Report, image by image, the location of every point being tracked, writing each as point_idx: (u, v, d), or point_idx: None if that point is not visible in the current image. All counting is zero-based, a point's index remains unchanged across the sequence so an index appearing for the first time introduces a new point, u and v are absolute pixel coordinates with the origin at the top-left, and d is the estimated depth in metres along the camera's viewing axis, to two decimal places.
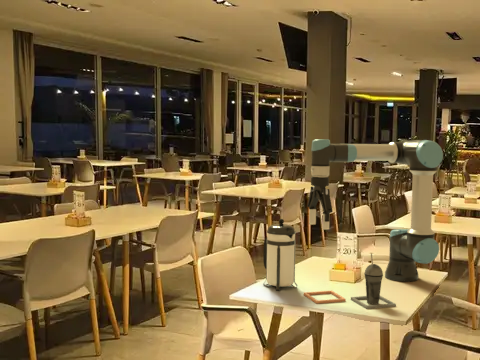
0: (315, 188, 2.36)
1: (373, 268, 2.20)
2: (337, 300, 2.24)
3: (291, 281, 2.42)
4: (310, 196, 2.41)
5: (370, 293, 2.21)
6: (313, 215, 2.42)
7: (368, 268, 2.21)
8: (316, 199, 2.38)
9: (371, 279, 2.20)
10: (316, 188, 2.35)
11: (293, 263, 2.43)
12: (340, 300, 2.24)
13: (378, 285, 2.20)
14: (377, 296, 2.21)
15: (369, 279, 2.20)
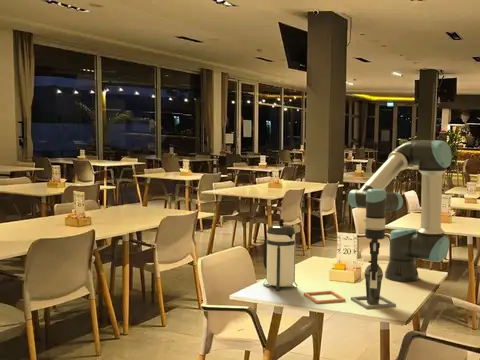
0: None
1: None
2: (337, 300, 2.24)
3: (291, 281, 2.42)
4: None
5: (370, 293, 2.21)
6: None
7: (368, 268, 2.21)
8: None
9: None
10: None
11: (293, 263, 2.43)
12: (340, 300, 2.24)
13: (378, 285, 2.20)
14: (377, 296, 2.21)
15: (369, 279, 2.20)
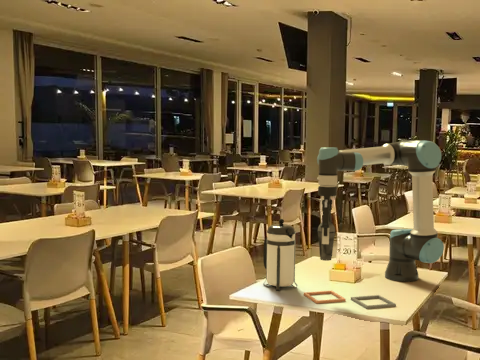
0: None
1: None
2: (337, 300, 2.24)
3: (291, 281, 2.42)
4: None
5: (323, 250, 2.26)
6: None
7: (321, 225, 2.26)
8: None
9: None
10: None
11: (293, 263, 2.43)
12: (340, 300, 2.24)
13: (330, 241, 2.25)
14: (329, 252, 2.26)
15: (321, 235, 2.25)
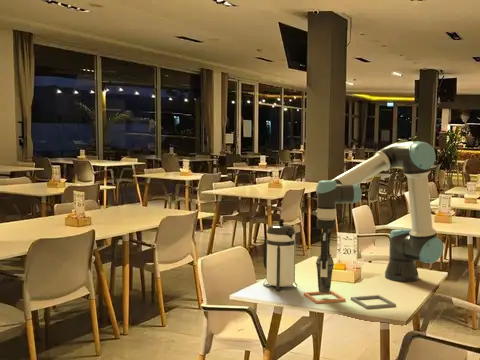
0: None
1: None
2: (337, 300, 2.24)
3: (291, 281, 2.42)
4: None
5: (321, 282, 2.27)
6: None
7: (319, 257, 2.27)
8: None
9: None
10: None
11: (293, 263, 2.43)
12: (340, 300, 2.24)
13: (329, 274, 2.26)
14: (328, 285, 2.27)
15: (319, 268, 2.26)
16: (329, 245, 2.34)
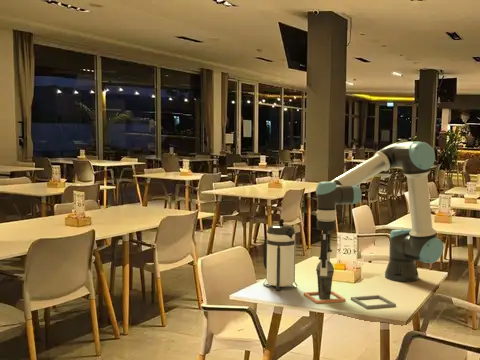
0: None
1: None
2: (337, 300, 2.24)
3: (291, 281, 2.42)
4: None
5: (321, 289, 2.27)
6: (327, 258, 2.35)
7: (319, 264, 2.27)
8: None
9: None
10: None
11: (293, 263, 2.43)
12: (340, 300, 2.24)
13: (329, 280, 2.27)
14: (328, 291, 2.27)
15: None
16: None
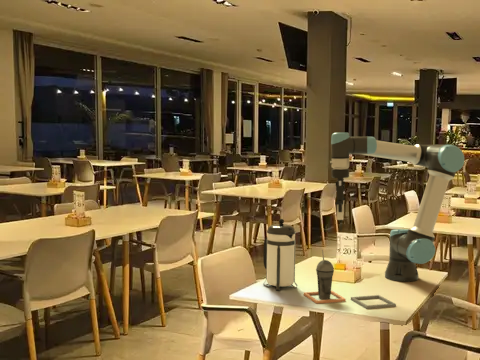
0: None
1: (324, 264, 2.26)
2: (337, 300, 2.24)
3: (291, 281, 2.42)
4: None
5: (321, 289, 2.27)
6: None
7: (319, 264, 2.27)
8: None
9: (322, 275, 2.26)
10: None
11: (293, 263, 2.43)
12: (340, 300, 2.24)
13: (329, 280, 2.27)
14: (328, 291, 2.27)
15: (319, 274, 2.27)
16: None
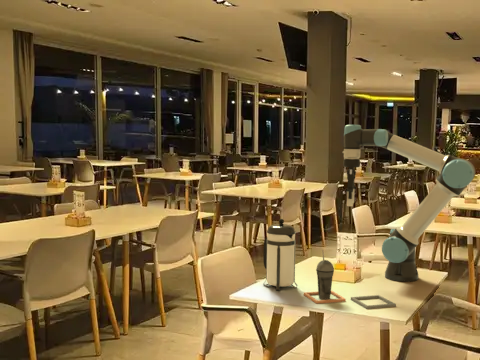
0: None
1: (324, 264, 2.26)
2: (337, 300, 2.24)
3: (291, 281, 2.42)
4: None
5: (321, 289, 2.27)
6: None
7: (319, 264, 2.27)
8: None
9: (322, 275, 2.26)
10: None
11: (293, 263, 2.43)
12: (340, 300, 2.24)
13: (329, 280, 2.27)
14: (328, 291, 2.27)
15: (320, 274, 2.27)
16: None
